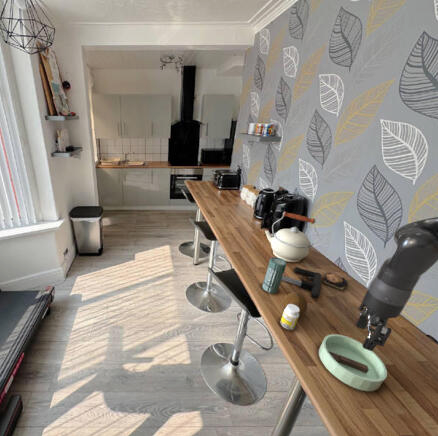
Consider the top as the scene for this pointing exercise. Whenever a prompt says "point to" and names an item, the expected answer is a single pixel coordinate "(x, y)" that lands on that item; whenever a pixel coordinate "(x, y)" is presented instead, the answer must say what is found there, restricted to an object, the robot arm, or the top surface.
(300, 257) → the kettle
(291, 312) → the supplement bottle
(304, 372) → the top surface
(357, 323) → the robot arm
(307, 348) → the top surface
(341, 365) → the bowl
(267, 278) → the can
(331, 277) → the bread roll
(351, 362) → the brown bar
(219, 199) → the top surface
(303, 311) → the potato
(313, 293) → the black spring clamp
